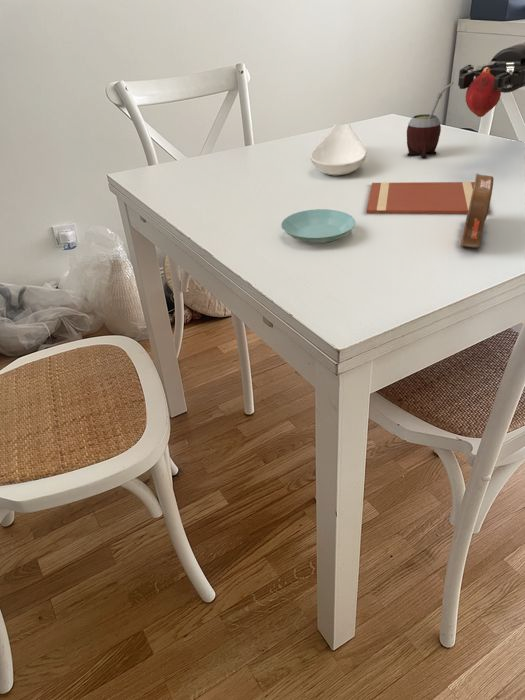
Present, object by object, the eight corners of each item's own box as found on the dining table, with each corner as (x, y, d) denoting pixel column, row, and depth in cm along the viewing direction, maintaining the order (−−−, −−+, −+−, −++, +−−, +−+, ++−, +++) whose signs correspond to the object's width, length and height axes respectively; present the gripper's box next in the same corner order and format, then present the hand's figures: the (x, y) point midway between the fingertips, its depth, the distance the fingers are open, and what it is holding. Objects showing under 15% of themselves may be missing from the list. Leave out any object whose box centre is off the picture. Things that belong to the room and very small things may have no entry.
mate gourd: (402, 151, 124) (407, 79, 115) (438, 149, 123) (445, 76, 114) (408, 160, 117) (414, 85, 109) (445, 158, 117) (454, 82, 108)
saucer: (369, 231, 87) (370, 218, 86) (322, 257, 81) (321, 243, 80) (315, 216, 95) (314, 204, 93) (267, 239, 88) (266, 225, 87)
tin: (466, 218, 89) (473, 166, 84) (487, 219, 88) (495, 166, 83) (458, 256, 77) (466, 198, 73) (481, 258, 76) (491, 200, 72)
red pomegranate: (493, 121, 94) (500, 70, 89) (459, 120, 97) (464, 70, 92) (500, 113, 98) (507, 64, 93) (468, 113, 101) (473, 65, 96)
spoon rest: (365, 180, 109) (366, 143, 105) (307, 181, 111) (306, 145, 107) (367, 148, 128) (368, 116, 124) (317, 150, 130) (317, 119, 126)
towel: (480, 185, 101) (480, 181, 101) (488, 214, 89) (489, 210, 89) (372, 185, 106) (372, 182, 106) (366, 213, 94) (366, 210, 94)
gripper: (482, 44, 104) (441, 58, 94) (561, 44, 96) (526, 58, 86) (476, 87, 109) (437, 104, 99) (552, 90, 100) (517, 109, 90)
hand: (479, 83), depth 92 cm, fingers closed on red pomegranate, 5 cm apart
